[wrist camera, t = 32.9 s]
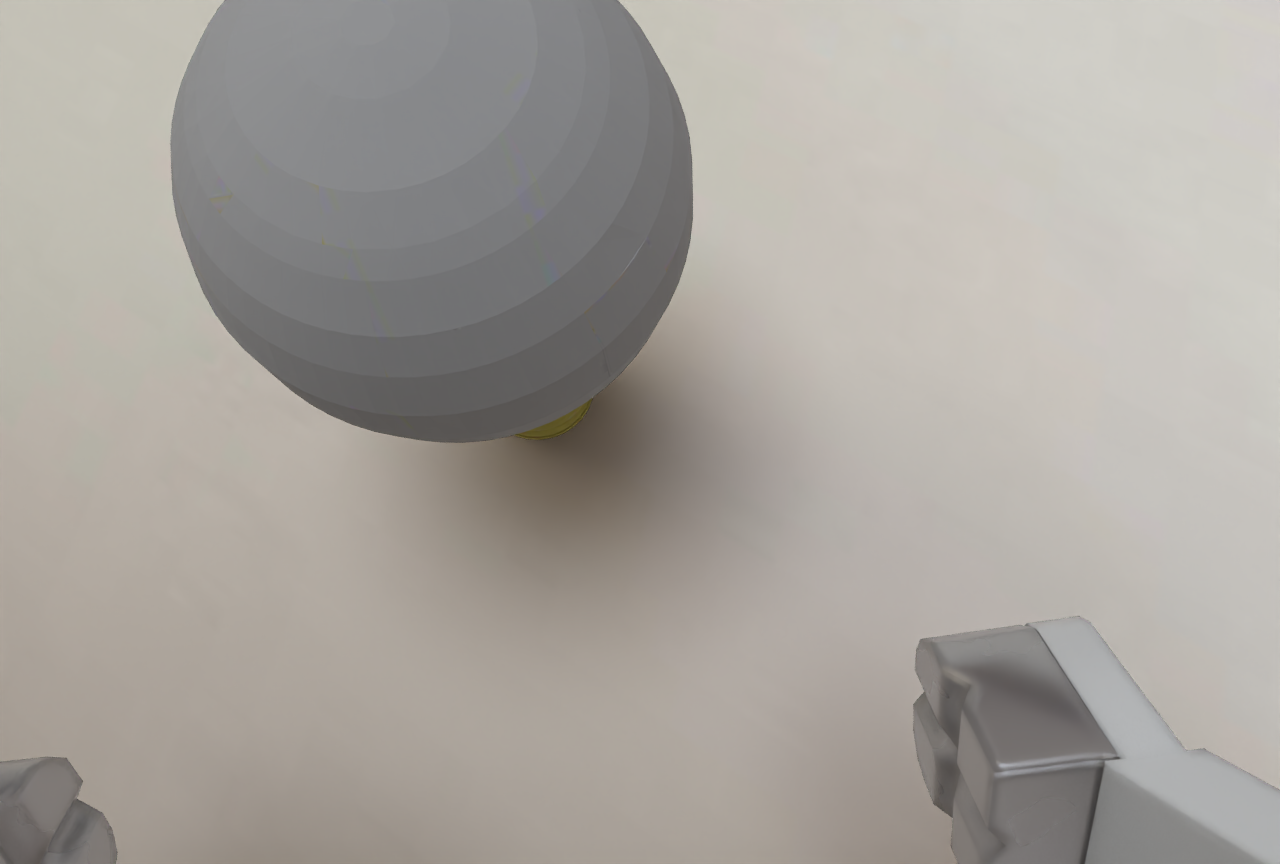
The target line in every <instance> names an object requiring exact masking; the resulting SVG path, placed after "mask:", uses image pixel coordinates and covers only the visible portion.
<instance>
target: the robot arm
mask: <svg viewBox="0 0 1280 864" xmlns="http://www.w3.org/2000/svg"><path fill="white" fill-rule="evenodd" d="M915 671H916V674H917V676H918V678H919V680H920V683H921V685H922V687H923V689H924V693H923V694H922V695H921V696H920V697H919V698H918V699H917V701H916V702H915V703H914V704H913V731H914V738H915V744H916V751H917V757H918V761H919V764H920V768H921V771H922V775H923V778H924V781H925V784H926V786H927V789H928V791H929V794H930V796H931V799H932V801H933V804H934V805H936V806H937V807H938V808H940V809H941V810H942V811H944V812H945V813H946V814H948V815H949V816H951V817H952V818H953V820H952V835H951V848H952V850H953V853H954V855H955V858H956V860H957V862H958V864H1280V790H1279V789H1277V788H1275V787H1273V786H1271V785H1270V784H1268V783H1266V782H1264V781H1262V780H1261V779H1259V778H1257V777H1255V776H1253V775H1251V774H1250V773H1248V772H1246V771H1244V770H1242V769H1240V768H1239V767H1237V766H1235V765H1233V764H1231V763H1230V762H1228V761H1226V760H1224V759H1222V758H1220V757H1219V756H1217V755H1215V754H1213V753H1211V752H1209V751H1208V750H1206V749H1195V750H1186V749H1185V748H1184V746H1183V745H1182V744H1181V742H1180V741H1179V740H1178V738H1177V737H1176V736H1175V734H1174V733H1173V732H1172V730H1171V729H1170V728H1169V726H1168V725H1167V724H1166V722H1165V721H1164V720H1163V718H1162V717H1161V716H1160V714H1159V713H1158V712H1157V710H1156V709H1155V708H1154V706H1153V705H1152V704H1151V702H1150V701H1149V700H1148V698H1147V697H1146V696H1145V694H1144V693H1143V692H1142V690H1141V689H1140V688H1139V686H1138V685H1137V684H1136V682H1135V681H1134V680H1133V678H1132V677H1131V676H1130V674H1129V673H1128V672H1127V670H1126V669H1125V668H1124V666H1123V665H1122V664H1121V662H1120V661H1119V660H1118V658H1117V657H1116V656H1115V654H1114V653H1113V652H1112V650H1111V649H1110V648H1109V646H1108V645H1107V644H1106V642H1105V641H1104V640H1103V638H1102V637H1101V636H1100V634H1099V633H1098V632H1097V630H1096V629H1095V628H1094V627H1093V625H1092V624H1091V623H1090V622H1089V621H1087V620H1085V619H1084V618H1082V617H1080V616H1076V617H1069V618H1062V619H1055V620H1048V621H1041V622H1034V623H1028V624H1026V625H1024V626H1023V625H1015V626H1008V627H1001V628H994V629H987V630H980V631H973V632H966V633H959V634H952V635H945V636H938V637H931V638H924V639H920V641H919V644H918V646H917V649H916V660H915ZM82 783H83V780H82V779H81V778H80V776H79V775H78V773H77V772H76V771H75V769H74V768H73V766H72V765H71V763H70V762H69V761H68V759H67V758H61V757H40V758H31V759H21V760H12V761H3V762H0V864H116V860H117V848H116V843H115V839H114V834H113V830H112V828H111V826H110V825H109V823H108V821H107V820H106V818H105V816H104V814H103V813H102V812H100V811H98V810H97V809H95V808H93V807H91V806H89V805H87V804H85V803H84V802H82V801H80V800H78V799H77V797H78V794H79V791H80V789H81V786H82Z"/></svg>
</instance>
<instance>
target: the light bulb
mask: <svg viewBox="0 0 1280 864" xmlns="http://www.w3.org/2000/svg"><path fill="white" fill-rule="evenodd" d="M170 145H171V171H172V192H173V200H174V206H175V212H176V217H177V221H178V224H179V228H180V231H181V235H182V238H183V241H184V243H185V246H186V249H187V252H188V255H189V257H190V260H191V263H192V266H193V268H194V271H195V274H196V276H197V278H198V281H199V283H200V286H201V288H202V291H203V293H204V295H205V297H206V298H207V300H208V302H209V304H210V306H211V307H212V309H213V311H214V313H215V314H216V316H217V317H218V318H219V320H220V321H221V323H222V324H223V325H224V327H225V328H226V330H227V331H228V332H229V333H230V334H231V335H232V337H233V338H234V339H235V340H236V341H237V342H238V343H239V344H240V345H241V347H242V348H243V349H244V350H245V351H247V352H248V353H249V354H250V355H251V356H252V357H253V358H254V359H256V360H257V361H258V362H259V363H260V364H261V365H262V366H264V367H265V368H266V369H267V370H268V371H269V372H270V373H272V374H273V375H274V376H275V377H276V378H277V379H279V380H280V381H281V382H282V383H283V384H284V385H285V386H287V387H288V388H289V389H290V390H291V391H293V392H294V393H295V394H297V395H298V396H300V397H301V398H302V399H304V400H305V401H307V402H308V403H309V404H311V405H313V406H315V407H316V408H318V409H320V410H322V411H324V412H325V413H327V414H329V415H331V416H333V417H336V418H338V419H340V420H343V421H345V422H347V423H350V424H352V425H355V426H358V427H361V428H365V429H368V430H371V431H374V432H379V433H384V434H389V435H393V436H398V437H404V438H410V439H416V440H424V441H433V442H454V443H465V442H476V441H486V440H492V439H497V438H503V437H508V436H511V435H515V436H517V437H521V438H525V439H535V440H542V439H548V438H553V437H556V436H558V435H561V434H563V433H565V432H567V431H568V430H570V429H571V428H573V427H574V426H575V425H576V424H577V423H578V422H579V421H580V420H581V419H582V418H583V417H584V415H585V414H586V412H587V410H588V409H589V406H590V404H591V401H592V398H593V397H594V396H595V395H597V394H598V393H599V392H601V391H602V390H603V389H604V388H606V387H607V386H608V385H609V384H610V383H611V382H612V381H613V380H614V379H615V378H616V377H618V376H619V375H620V374H621V373H622V372H623V370H624V369H625V368H626V367H627V366H628V365H629V364H630V363H631V361H632V360H633V359H634V358H635V357H636V355H637V354H638V353H639V351H640V350H641V349H642V347H643V346H644V344H645V343H646V342H647V340H648V338H649V337H650V335H651V333H652V332H653V330H654V328H655V327H656V325H657V323H658V322H659V320H660V318H661V317H662V315H663V313H664V312H665V310H666V308H667V306H668V305H669V303H670V301H671V298H672V296H673V294H674V292H675V290H676V287H677V285H678V283H679V280H680V277H681V274H682V271H683V268H684V265H685V262H686V258H687V253H688V249H689V244H690V239H691V230H692V221H693V184H692V155H691V146H690V137H689V132H688V128H687V124H686V119H685V115H684V112H683V109H682V106H681V103H680V101H679V98H678V95H677V93H676V91H675V89H674V86H673V84H672V82H671V80H670V78H669V76H668V74H667V72H666V71H665V69H664V67H663V65H662V64H661V62H660V60H659V58H658V56H657V55H656V53H655V51H654V49H653V48H652V46H651V44H650V43H649V41H648V39H647V38H646V36H645V34H644V33H643V31H642V29H641V28H640V26H639V25H638V24H637V22H636V21H635V20H634V19H633V17H632V16H631V15H630V13H629V12H628V11H627V10H626V9H625V8H624V6H623V5H622V4H621V3H620V2H619V1H618V0H225V1H224V2H223V3H222V5H221V6H220V7H219V8H218V10H217V11H216V13H215V15H214V16H213V18H212V19H211V21H210V22H209V24H208V26H207V28H206V29H205V31H204V33H203V35H202V37H201V39H200V41H199V43H198V45H197V47H196V49H195V52H194V54H193V56H192V58H191V60H190V62H189V64H188V67H187V69H186V72H185V74H184V77H183V79H182V82H181V85H180V88H179V92H178V95H177V99H176V102H175V108H174V114H173V119H172V128H171V143H170Z"/></svg>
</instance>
